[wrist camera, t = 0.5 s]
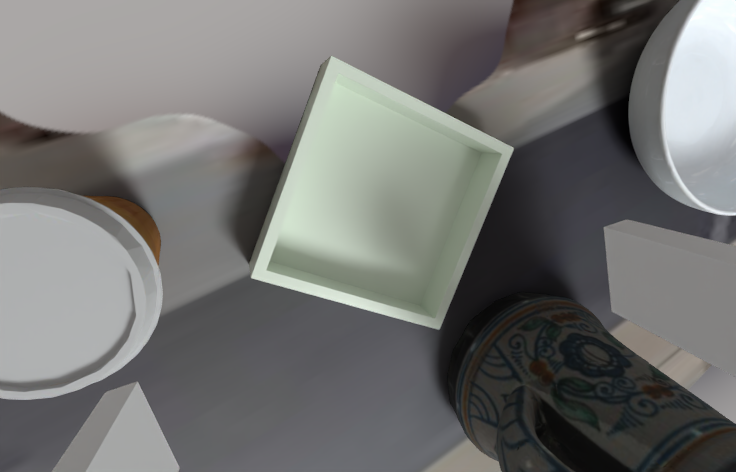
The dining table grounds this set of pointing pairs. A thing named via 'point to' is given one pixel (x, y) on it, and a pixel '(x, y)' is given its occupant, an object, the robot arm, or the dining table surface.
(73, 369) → the disposable coffee cup
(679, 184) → the serving bowl
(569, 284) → the dining table surface
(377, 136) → the tray
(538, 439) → the beer stein
